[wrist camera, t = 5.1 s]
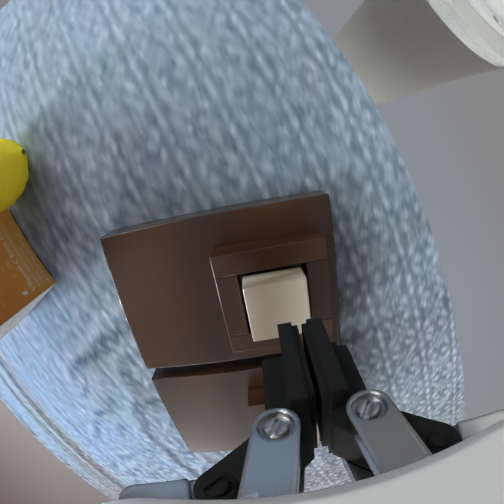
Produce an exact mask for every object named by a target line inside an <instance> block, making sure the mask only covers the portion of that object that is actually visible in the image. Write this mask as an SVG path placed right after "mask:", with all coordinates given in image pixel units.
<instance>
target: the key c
mask: <svg viewBox="0 0 504 504" xmlns="http://www.w3.org/2000/svg"><path fill="white" fill-rule="evenodd" d="M242 290H243V295H244V300H245V305H246V309H247V314H248V319H249V323H250V328H251V333H252V338H253V341H261V340H267V339H273V338H279V334H278V328H277V324H283V323H288V322H291V324H292V326H293V325H297V326H298V330H299V334H300V333H302V328H301V324H304V323H306V319H311V313H310V304H309V294H308V285H307V278H306V276H305V274H304V272H303V270H302V269H301V267H300V266H298V267H293V268H287V269H282V270H276V271H271V272H265V273H259V274H254V275H248V276H243V280H242Z"/></svg>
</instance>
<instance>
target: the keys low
mask: <svg viewBox="0 0 504 504" xmlns="http://www.w3.org/2000/svg"><path fill="white" fill-rule="evenodd" d="M100 240H101V243H102V247H103V250H104V254H105V257H106V261H107V264H108V267H109V270H110V273H111V277H112V280H113V283H114V286H115V289H116V292H117V294H118V297H119V300H120V303H121V306H122V309H123V311H124V314H125V317H126V319H127V322H128V324H129V327H130V330H131V332H132V335H133V337H134V340H135V342H136V344H137V347H138V349H139V351H140V354H141V356H142V358H143V361H144V363H145V365H146V367H147V368H148V369H149V368H164V367H177V366H188V365H198V364H207V363H216V362H224V361H232V360H239V359H246V358H252V357H259V356H265V355H271V354H277V353H281V347H280V340H279V338H273V339H267V340H261V341H253V338H252V333H251V328H250V323H249V319H248V314H247V309H246V305H245V300H244V295H243V290H242V280H243V276H248V275H254V274H259V273H265V272H271V271H276V270H282V269H287V268H293V267H298V266H300V267H301V269H302V270H303V272H304V274H305V276H306V278H307V285H308V294H309V304H310V313H311V318H316V317H320V318H321V320H322V322H323V325H324V327H325V330H326V332H327V334H328V337H329V339H330V342H331V343H332V342H336V341H340V321H339V301H338V285H337V271H336V259H335V248H334V237H333V228H332V219H331V210H330V202H329V195H328V194H326V193H323V192H321V191H313V192H307V193H300V194H294V195H288V196H282V197H275V198H270V199H264V200H258V201H252V202H247V203H241V204H236V205H230V206H225V207H220V208H214V209H209V210H204V211H199V212H194V213H189V214H184V215H180V216H175V217H170V218H166V219H161V220H156V221H152V222H147V223H143V224H139V225H134V226H130V227H126V228H121V229H117V230H114V231H112V232H110V233H108V234H107V235H105V236H103V237H101V238H100ZM300 338H301V341H302V345H303V338H302V333H300ZM303 349H304V347H303Z"/></svg>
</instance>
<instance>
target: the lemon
mask: <svg viewBox="0 0 504 504" xmlns="http://www.w3.org/2000/svg"><path fill="white" fill-rule="evenodd" d="M28 177H29V171H28V159H27V156H26V152H25V150H24V149H23V148H22V147H21V146H20V145H18V144H17V143H16V142H14V141H13V140H7V139H1V138H0V213H1V212H2V211H4V210H5V209H7V208H8V207H10V206H11V205H13V204H14V203H15V202H16V201H17V199H18V198H19V197H20V195H21V194H22V193H23V191H24V189H25V186H26V183H27V180H28Z"/></svg>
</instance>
